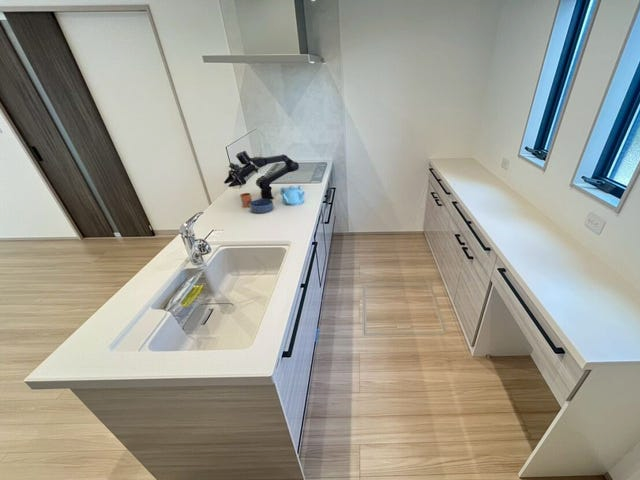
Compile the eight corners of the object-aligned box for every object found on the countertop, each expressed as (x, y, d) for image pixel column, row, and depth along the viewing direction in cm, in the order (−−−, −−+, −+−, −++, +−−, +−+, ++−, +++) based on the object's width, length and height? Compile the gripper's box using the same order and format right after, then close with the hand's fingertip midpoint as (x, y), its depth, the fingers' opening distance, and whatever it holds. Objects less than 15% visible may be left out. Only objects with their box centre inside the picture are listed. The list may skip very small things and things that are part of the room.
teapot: (303, 197, 218) (301, 182, 212) (307, 204, 206) (304, 188, 200) (281, 200, 213) (278, 184, 208) (283, 207, 202) (281, 191, 196)
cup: (251, 203, 209) (249, 192, 205) (254, 206, 204) (251, 194, 200) (242, 205, 206) (239, 194, 202) (244, 207, 201) (241, 196, 197)
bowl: (270, 204, 206) (268, 197, 204) (276, 210, 196) (275, 203, 194) (248, 208, 200) (247, 201, 198) (254, 215, 190) (252, 208, 188)
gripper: (233, 157, 200) (213, 171, 197) (243, 162, 188) (222, 177, 184) (244, 171, 208) (225, 185, 205) (254, 177, 196) (234, 192, 192)
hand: (226, 184), depth 196 cm, fingers open, 9 cm apart
